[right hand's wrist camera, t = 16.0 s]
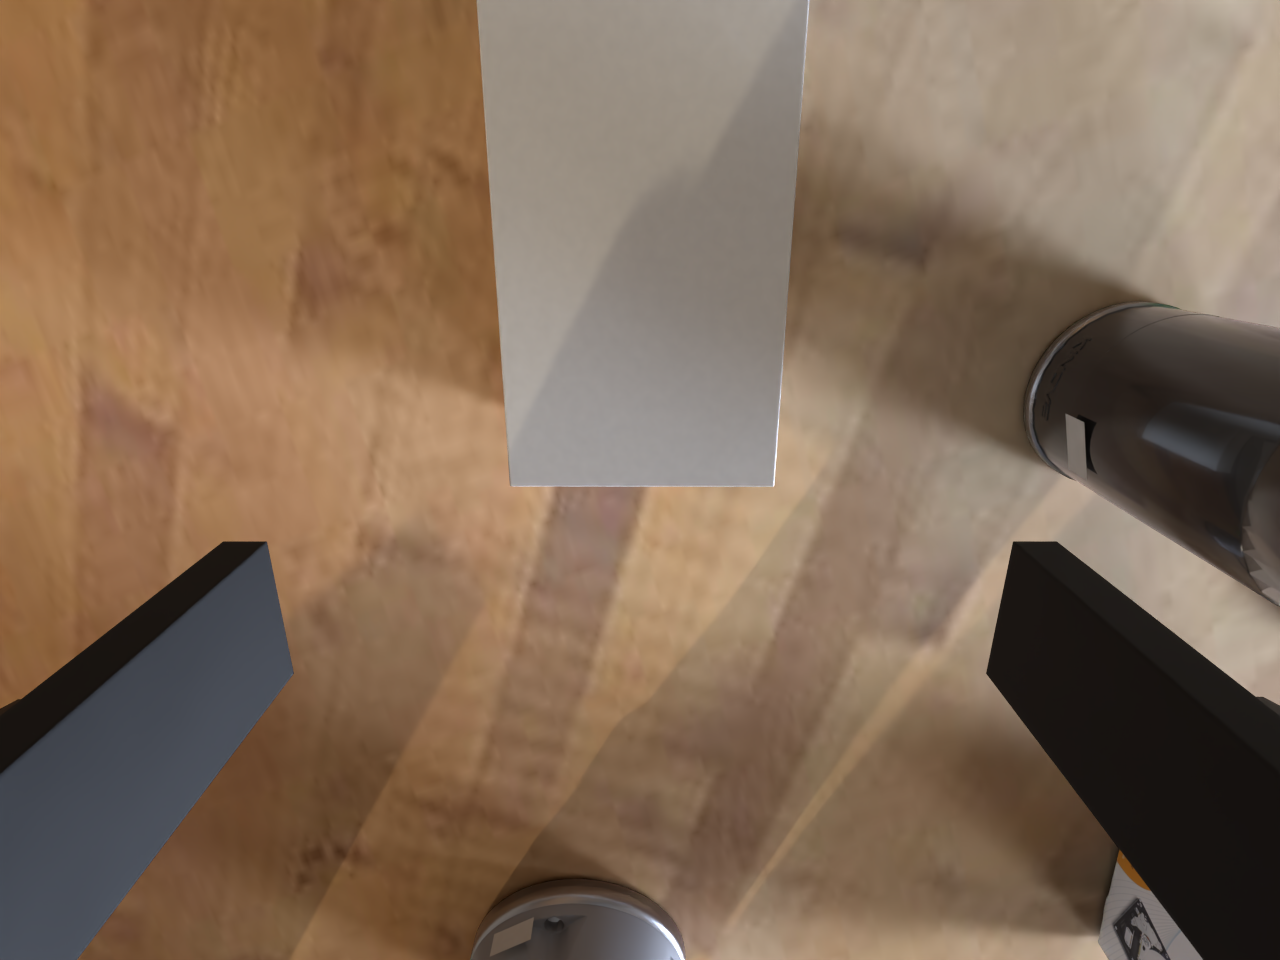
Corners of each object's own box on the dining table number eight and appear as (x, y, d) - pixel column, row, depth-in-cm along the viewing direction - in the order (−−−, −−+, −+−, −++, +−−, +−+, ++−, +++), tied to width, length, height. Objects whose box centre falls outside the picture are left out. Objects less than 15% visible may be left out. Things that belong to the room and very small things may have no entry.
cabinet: (522, 9, 31) (470, -80, 21) (762, 9, 30) (815, -80, 21) (542, 418, 37) (509, 486, 28) (741, 418, 37) (774, 487, 28)
